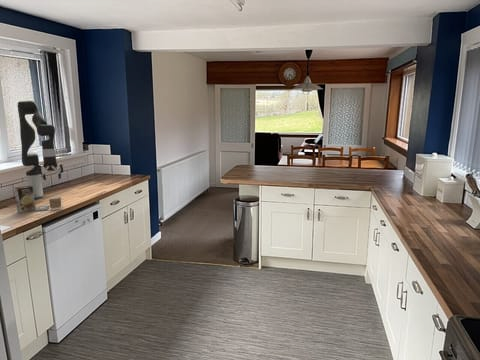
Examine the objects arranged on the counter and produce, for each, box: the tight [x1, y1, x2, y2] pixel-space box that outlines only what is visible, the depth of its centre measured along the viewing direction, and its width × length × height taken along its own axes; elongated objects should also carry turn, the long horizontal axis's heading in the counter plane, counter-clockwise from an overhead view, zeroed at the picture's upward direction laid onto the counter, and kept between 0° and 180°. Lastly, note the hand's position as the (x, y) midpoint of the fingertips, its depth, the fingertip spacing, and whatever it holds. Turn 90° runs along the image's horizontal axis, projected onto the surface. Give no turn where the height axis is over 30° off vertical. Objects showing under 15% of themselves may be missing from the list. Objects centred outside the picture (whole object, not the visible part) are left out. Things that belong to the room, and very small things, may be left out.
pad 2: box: [48, 203, 64, 211], centre depth 241 cm, size 10×7×1 cm
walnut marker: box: [48, 195, 62, 208], centre depth 240 cm, size 6×6×6 cm
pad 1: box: [34, 204, 50, 213], centre depth 238 cm, size 10×7×1 cm
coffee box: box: [14, 185, 37, 214], centre depth 234 cm, size 9×6×16 cm
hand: (52, 179), depth 237 cm, fingers open, 8 cm apart
